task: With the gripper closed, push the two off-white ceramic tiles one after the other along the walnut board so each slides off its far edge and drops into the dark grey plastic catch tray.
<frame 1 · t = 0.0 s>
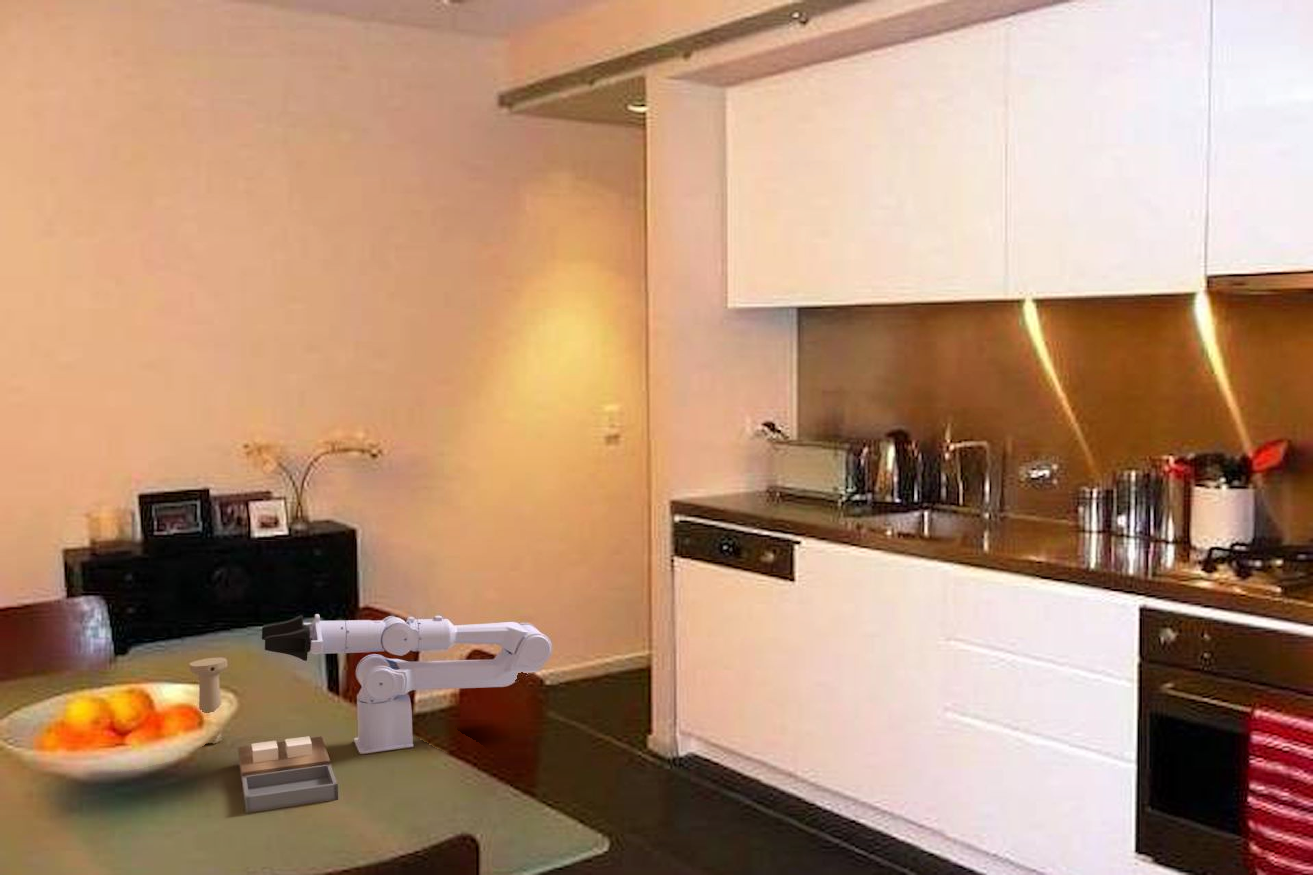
hand: (263, 638, 212), 22 cm above the table, tool horizontal, fingers open, 7 cm apart
board: (284, 770, 209), on the table
tray: (290, 794, 198), on the table
tile b: (265, 757, 207), point 3 cm above the table, touching board
tile a: (298, 752, 209), point 3 cm above the table, touching board
handle: (212, 743, 224), on the table
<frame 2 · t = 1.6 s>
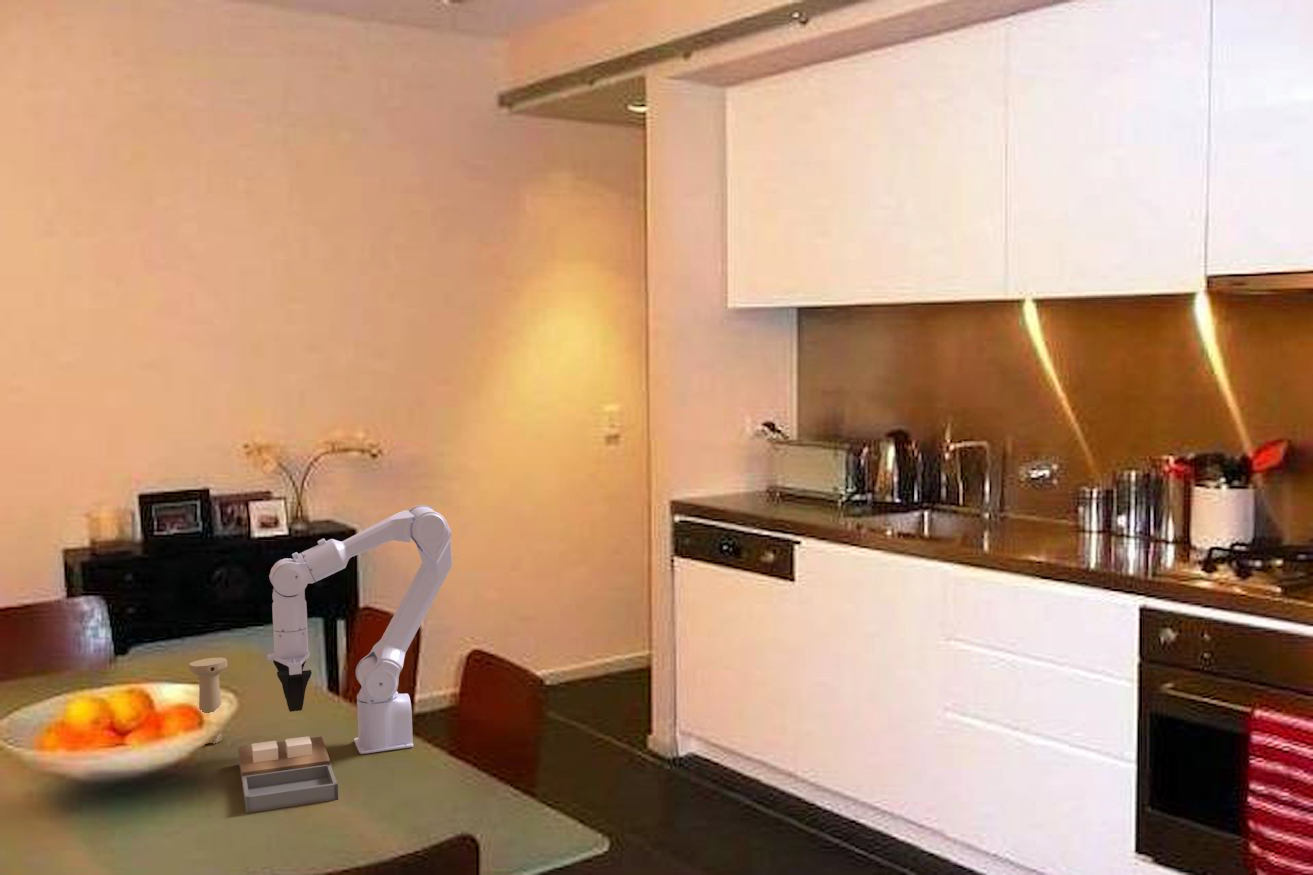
hand: (293, 704, 215), 9 cm above the table, tool pointing down, fingers open, 7 cm apart
nothing on the table moved.
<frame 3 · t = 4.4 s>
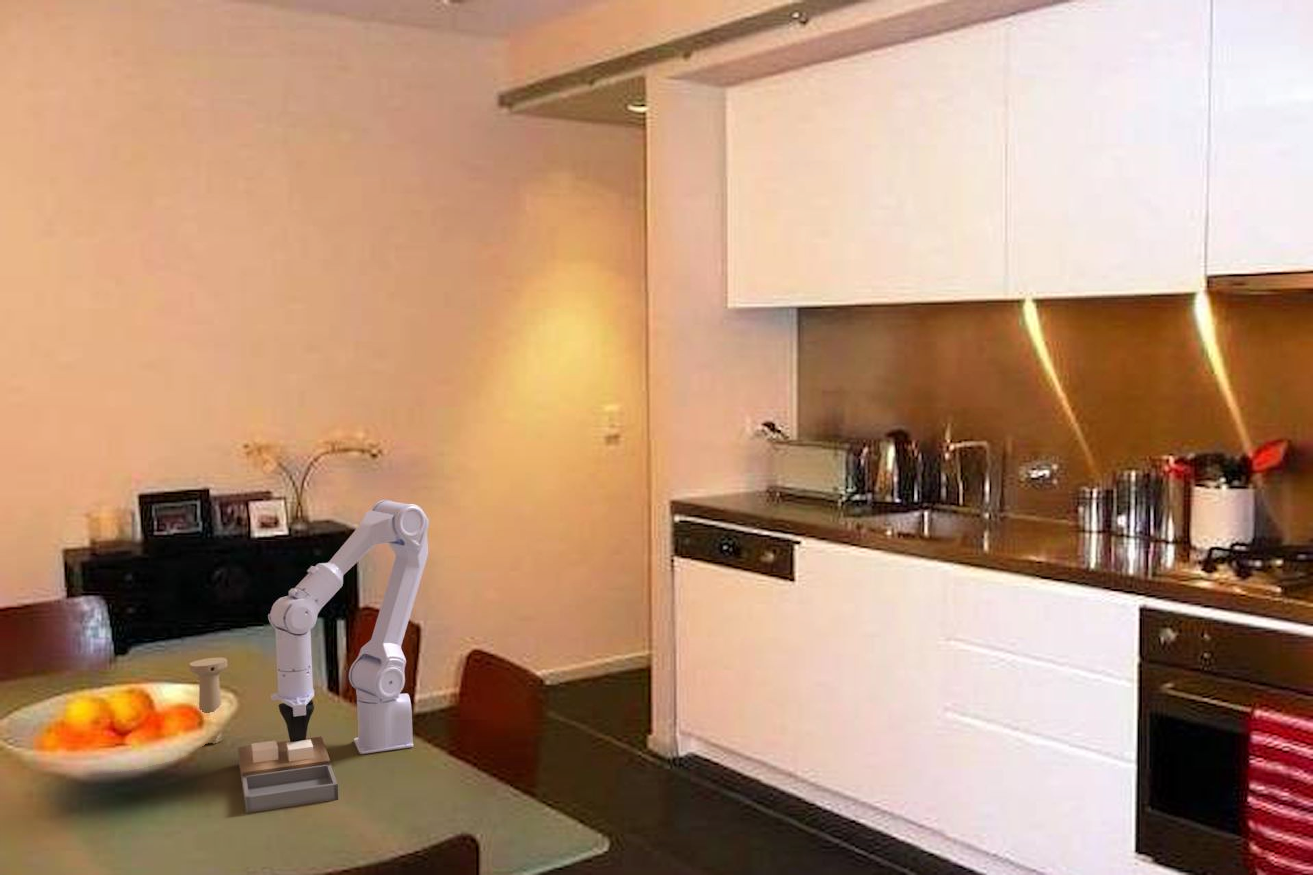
hand: (297, 744, 210), 4 cm above the table, tool pointing down, fingers closed
tile a: (300, 756, 207), point 3 cm above the table, touching gripper
everything else where it was.
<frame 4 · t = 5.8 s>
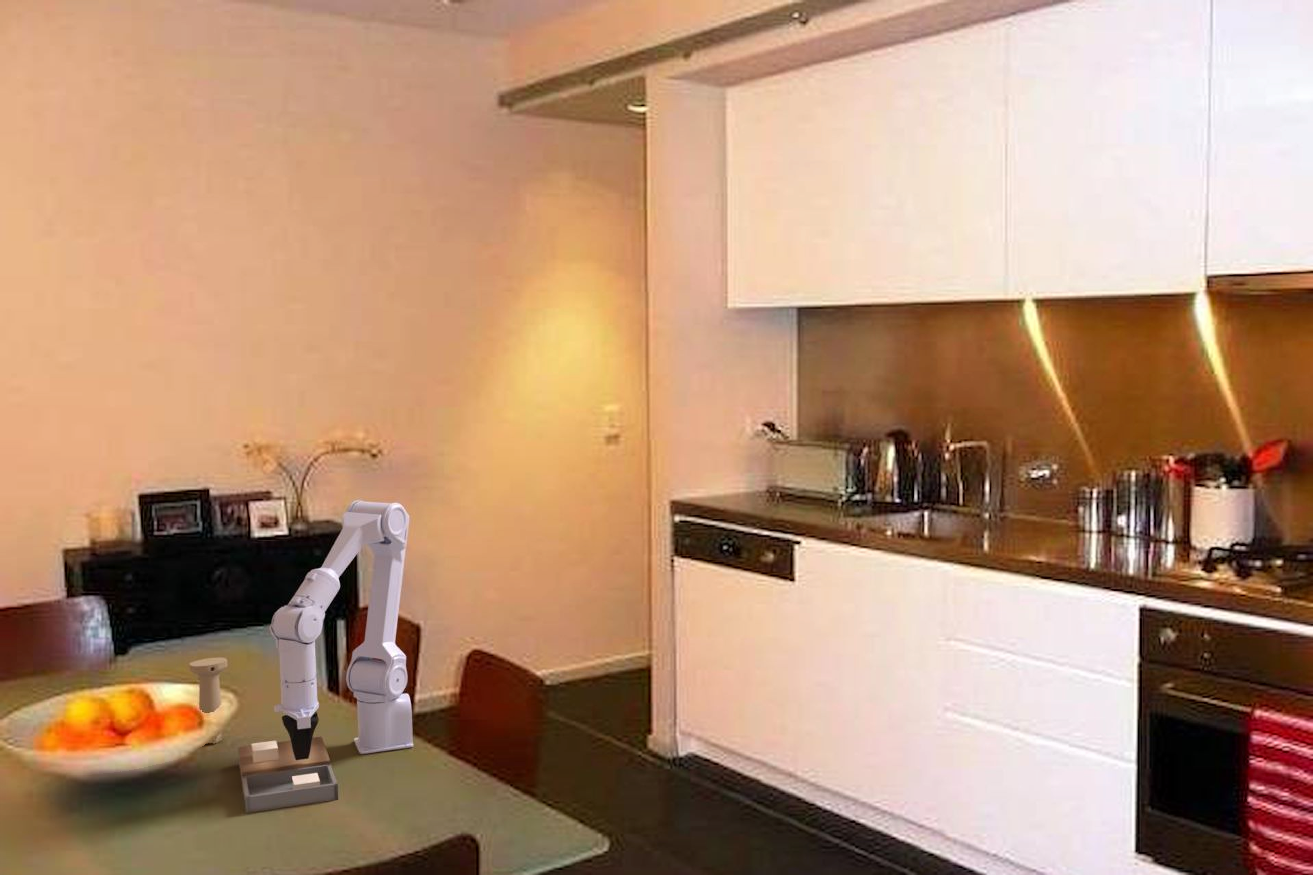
hand: (301, 758, 203), 4 cm above the table, tool pointing down, fingers closed
tile a: (305, 778, 198), point 2 cm above the table, tilted 180°, touching tray
everything else where it was.
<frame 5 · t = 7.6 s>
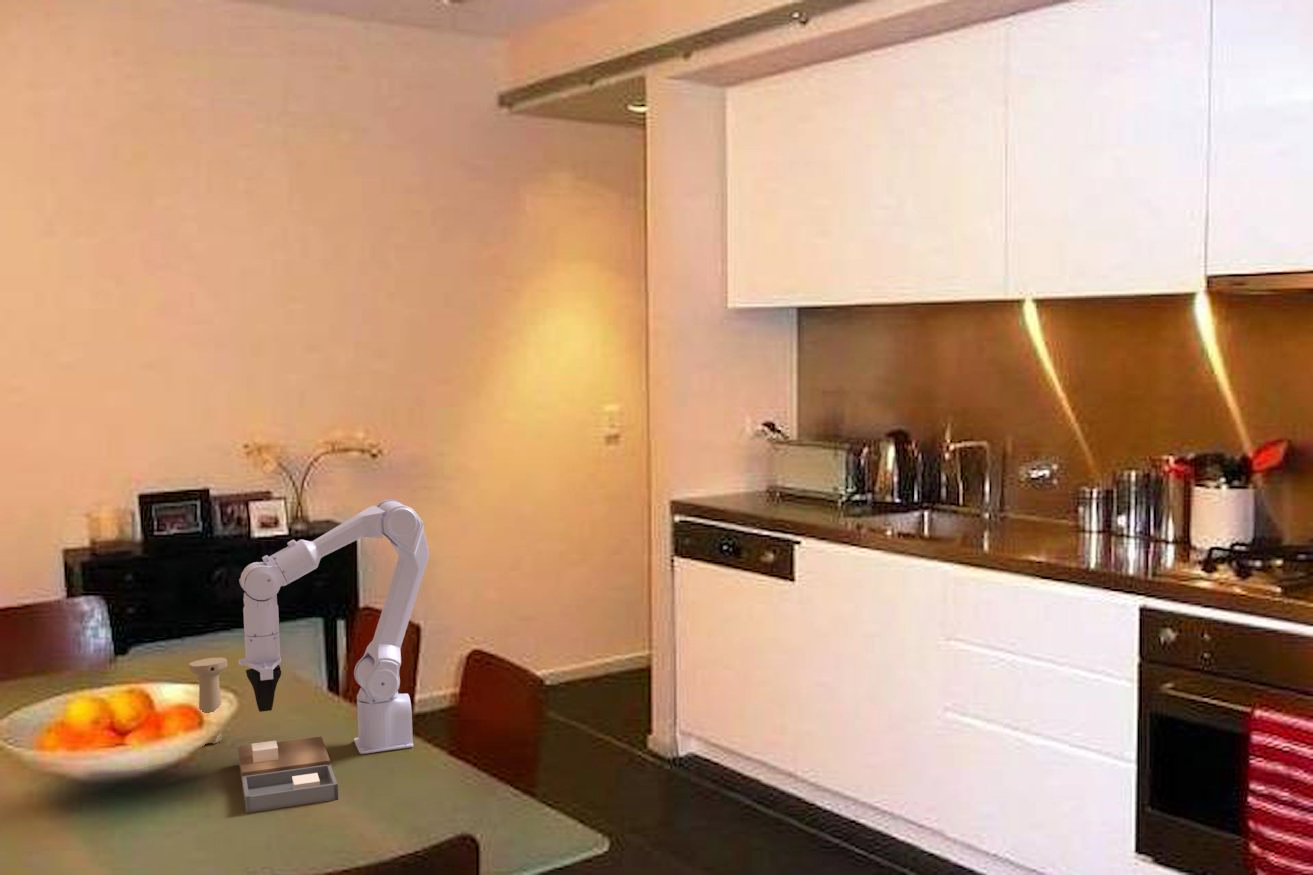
hand: (265, 709, 212), 9 cm above the table, tool pointing down, fingers closed
nothing on the table moved.
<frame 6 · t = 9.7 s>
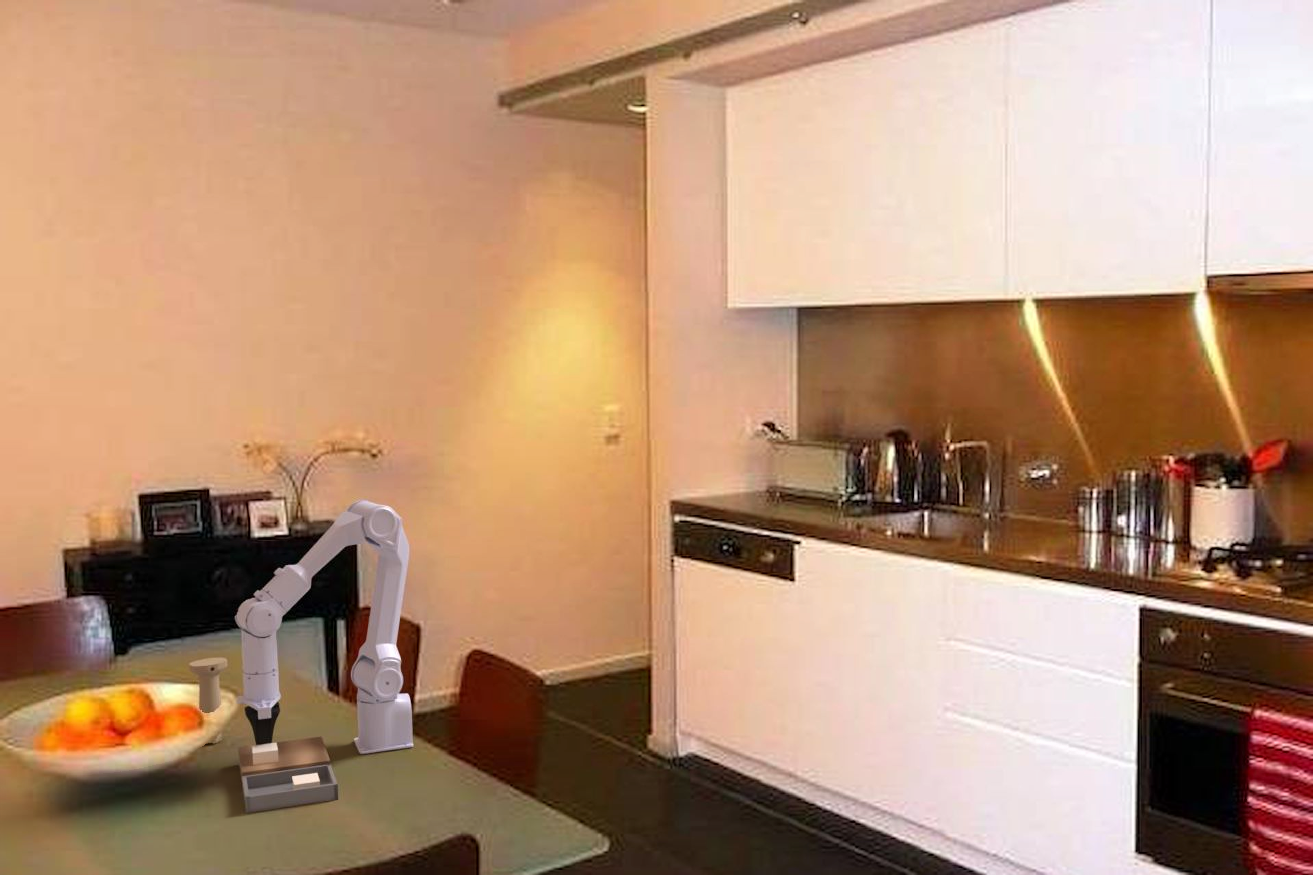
hand: (264, 747, 208), 4 cm above the table, tool pointing down, fingers closed
tile b: (265, 759, 206), point 3 cm above the table, touching gripper
everything else where it was.
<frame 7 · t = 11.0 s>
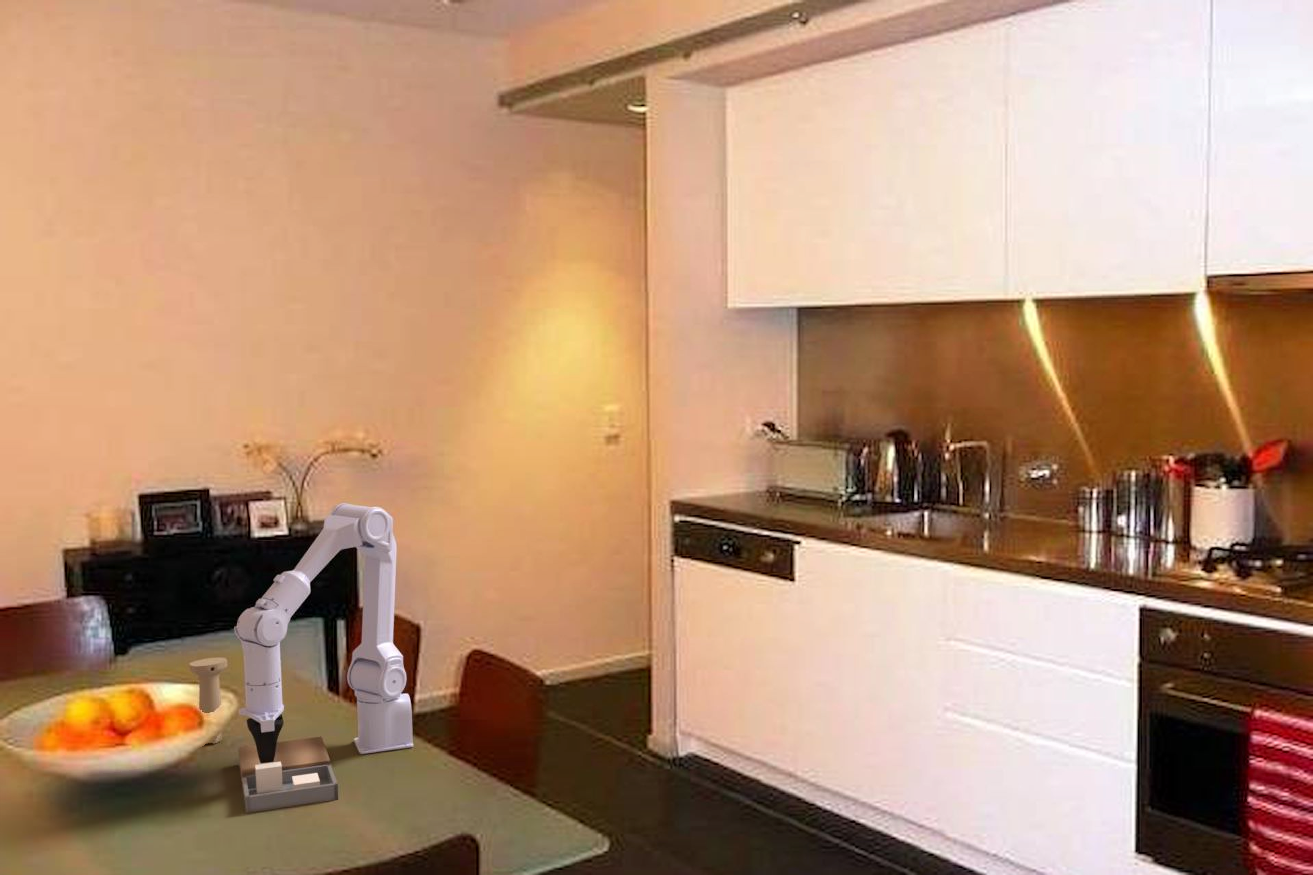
hand: (266, 761, 202), 4 cm above the table, tool pointing down, fingers closed
tile b: (268, 774, 200), point 3 cm above the table, tilted 92°, touching tray
everything else where it was.
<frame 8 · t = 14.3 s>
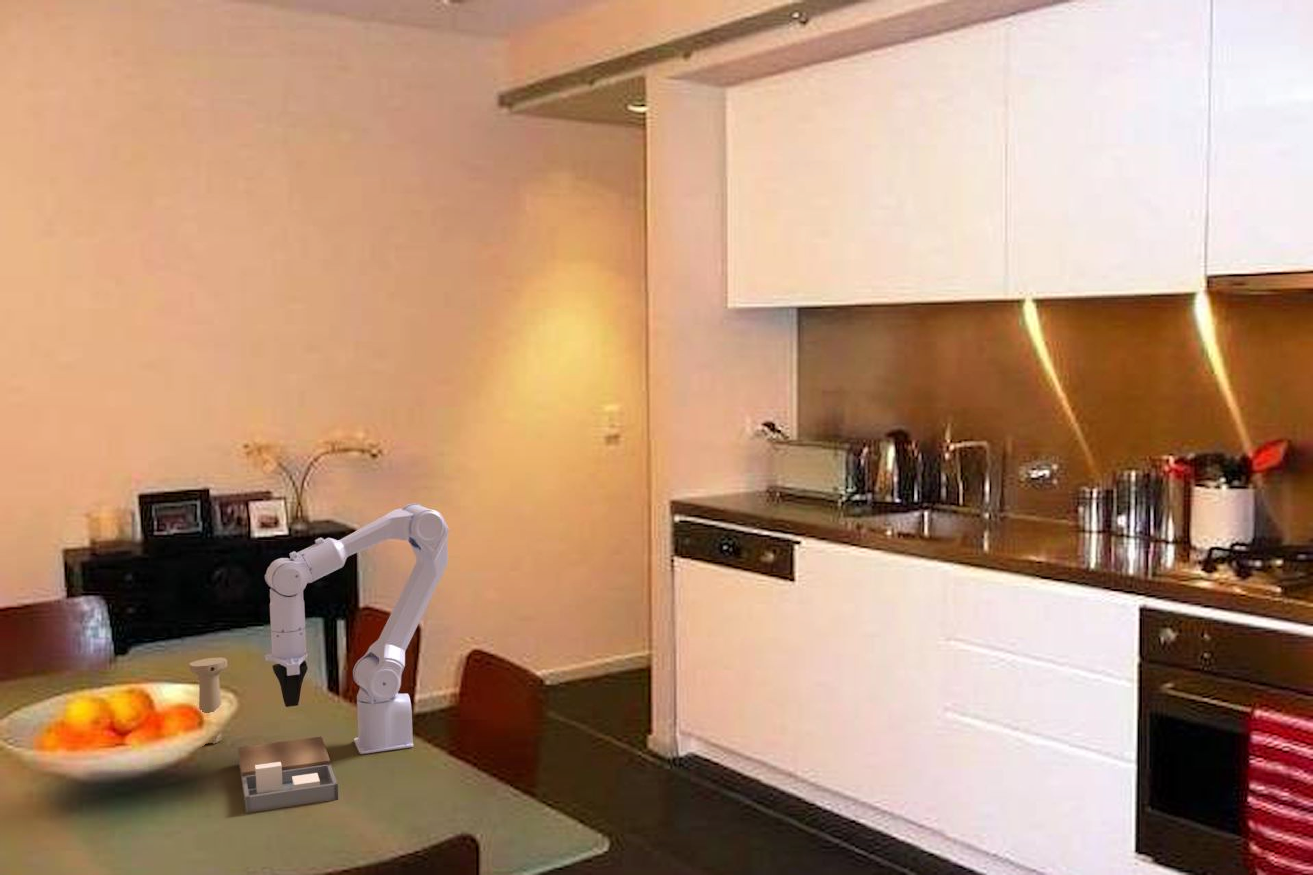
hand: (291, 705, 213), 10 cm above the table, tool pointing down, fingers closed
nothing on the table moved.
at the end: tile a inside the target area on the tray (2.5 cm from its centre), point 2.5 cm above the tray's base; tile b inside the target area on the tray (4.7 cm from its centre), point 2.5 cm above the tray's base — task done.
